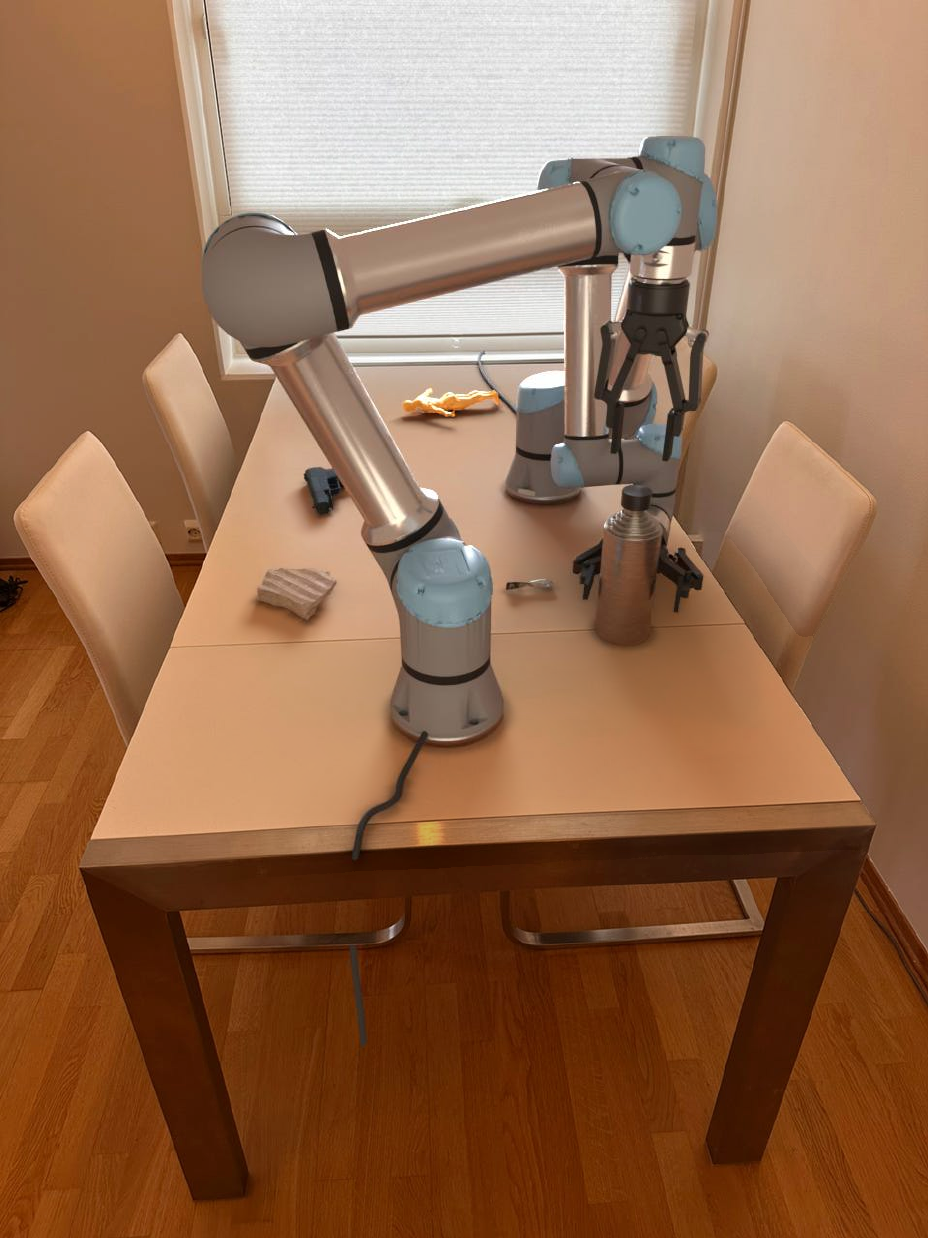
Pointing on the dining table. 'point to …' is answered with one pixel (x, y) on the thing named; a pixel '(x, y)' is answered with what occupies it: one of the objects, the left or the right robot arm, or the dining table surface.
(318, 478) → the handgun
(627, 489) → the cap
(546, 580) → the putty knife
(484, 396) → the human figure
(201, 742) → the dining table surface
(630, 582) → the bottle
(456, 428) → the dining table surface
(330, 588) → the stone
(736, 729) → the dining table surface
